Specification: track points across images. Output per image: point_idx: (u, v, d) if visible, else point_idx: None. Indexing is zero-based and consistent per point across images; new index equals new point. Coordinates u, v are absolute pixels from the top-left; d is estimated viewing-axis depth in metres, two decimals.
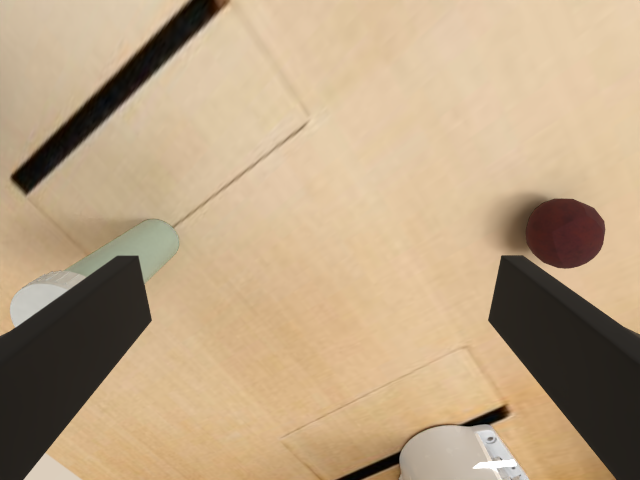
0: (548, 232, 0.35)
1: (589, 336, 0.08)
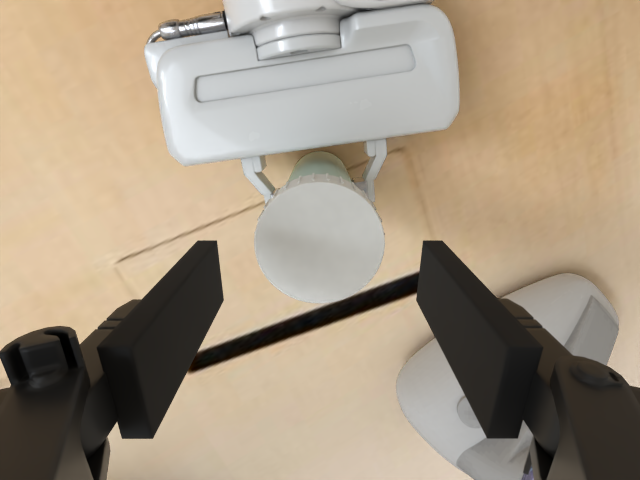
0: None
1: (466, 303, 0.09)
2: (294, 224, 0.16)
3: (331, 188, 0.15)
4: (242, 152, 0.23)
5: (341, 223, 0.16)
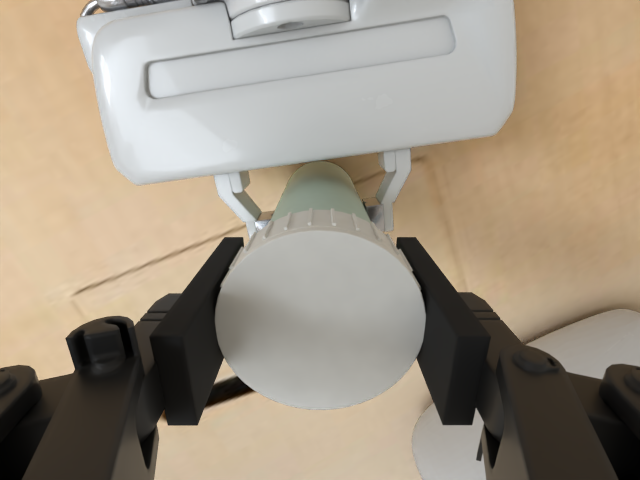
0: None
1: (427, 296, 0.10)
2: (278, 296, 0.10)
3: (340, 241, 0.09)
4: (214, 167, 0.17)
5: (356, 295, 0.10)
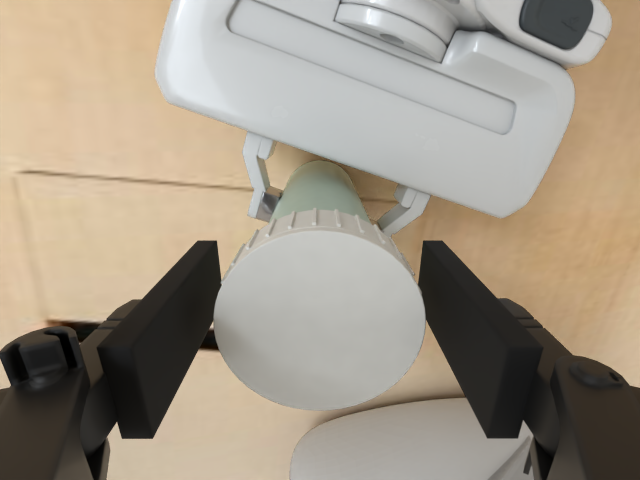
0: None
1: (465, 303, 0.09)
2: (271, 352, 0.10)
3: (229, 288, 0.10)
4: (254, 124, 0.17)
5: (291, 290, 0.10)
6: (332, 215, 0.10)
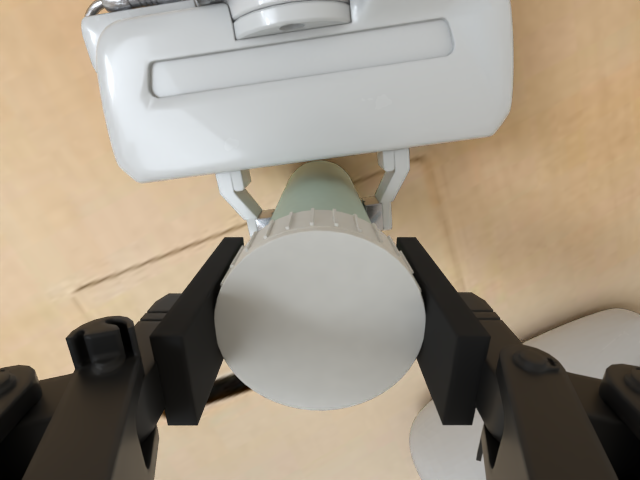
0: None
1: (427, 296, 0.10)
2: (288, 367, 0.11)
3: (222, 326, 0.10)
4: (216, 165, 0.17)
5: (274, 305, 0.10)
6: (286, 220, 0.10)
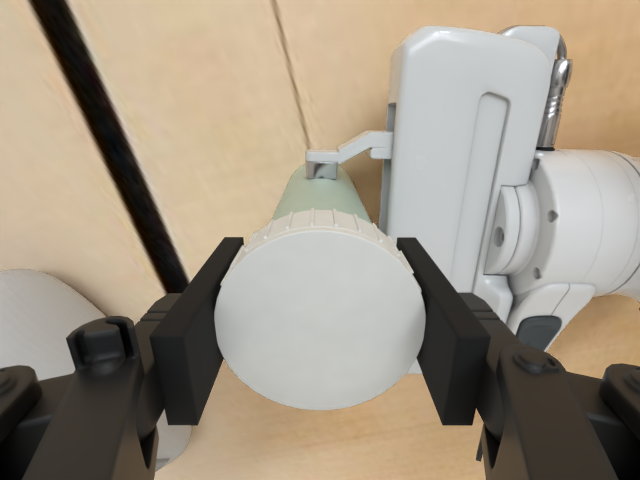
0: None
1: (427, 296, 0.10)
2: (288, 366, 0.11)
3: (222, 326, 0.10)
4: (404, 141, 0.17)
5: (274, 305, 0.10)
6: (286, 220, 0.10)
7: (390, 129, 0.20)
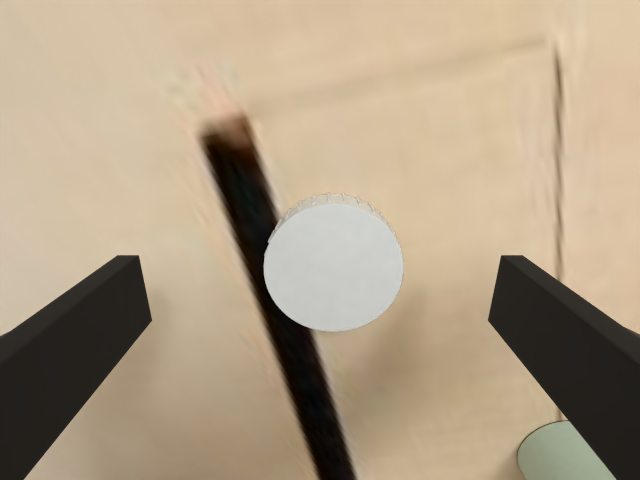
0: None
1: (589, 336, 0.08)
2: (311, 298, 0.16)
3: (269, 269, 0.15)
4: None
5: (303, 254, 0.15)
6: (311, 200, 0.16)
7: None
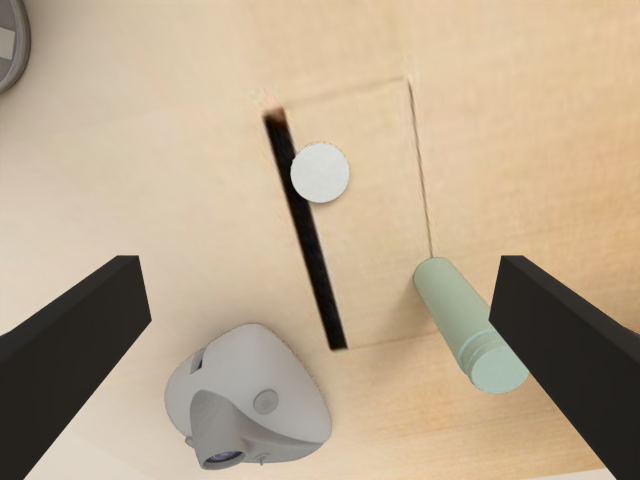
0: None
1: (589, 336, 0.08)
2: (311, 186, 0.37)
3: (293, 172, 0.36)
4: None
5: (307, 166, 0.36)
6: (310, 144, 0.37)
7: None
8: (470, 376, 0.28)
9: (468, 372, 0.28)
